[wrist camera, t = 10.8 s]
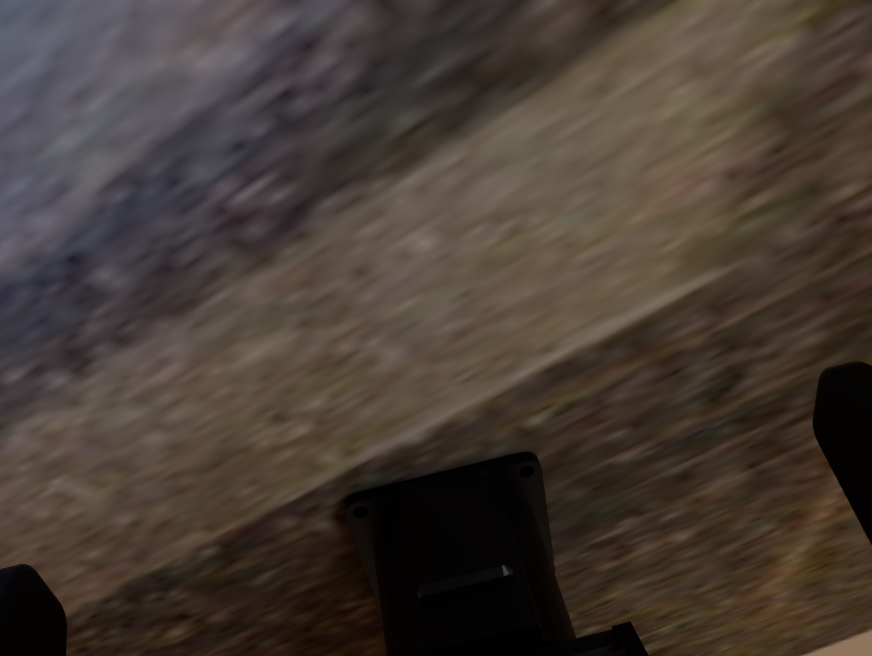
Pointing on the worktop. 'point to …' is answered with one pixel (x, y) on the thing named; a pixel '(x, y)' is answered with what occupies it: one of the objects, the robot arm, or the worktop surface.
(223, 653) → the worktop surface
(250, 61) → the worktop surface
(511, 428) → the worktop surface
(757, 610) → the worktop surface
